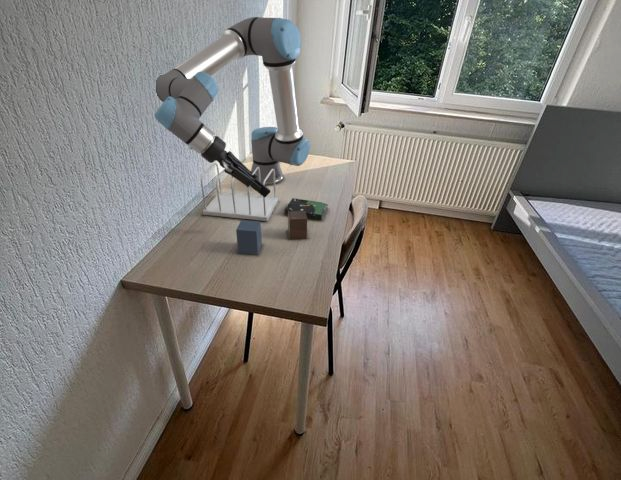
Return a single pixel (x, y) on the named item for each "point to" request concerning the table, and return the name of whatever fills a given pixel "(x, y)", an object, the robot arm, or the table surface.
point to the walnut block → (297, 225)
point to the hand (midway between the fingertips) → (267, 193)
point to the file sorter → (240, 201)
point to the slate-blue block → (249, 237)
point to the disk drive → (307, 208)
